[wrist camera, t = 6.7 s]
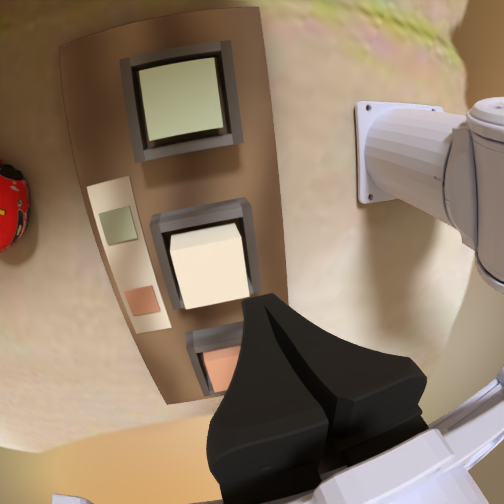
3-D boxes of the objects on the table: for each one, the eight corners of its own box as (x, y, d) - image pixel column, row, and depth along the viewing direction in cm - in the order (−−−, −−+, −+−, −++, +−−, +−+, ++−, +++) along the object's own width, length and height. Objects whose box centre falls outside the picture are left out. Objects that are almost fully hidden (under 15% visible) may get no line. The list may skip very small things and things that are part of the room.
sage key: (210, 64, 16) (213, 57, 13) (218, 126, 17) (223, 127, 15) (144, 76, 15) (139, 70, 13) (154, 138, 17) (149, 141, 15)
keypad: (255, 11, 15) (266, -4, 13) (289, 372, 30) (298, 393, 27) (64, 49, 14) (46, 40, 11) (166, 397, 28) (167, 420, 25)
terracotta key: (249, 331, 25) (255, 350, 22) (254, 363, 26) (260, 382, 24) (201, 341, 24) (204, 361, 22) (211, 372, 26) (214, 392, 24)
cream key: (234, 222, 19) (241, 237, 17) (242, 277, 21) (249, 296, 19) (171, 235, 18) (170, 251, 16) (184, 289, 20) (185, 309, 18)
